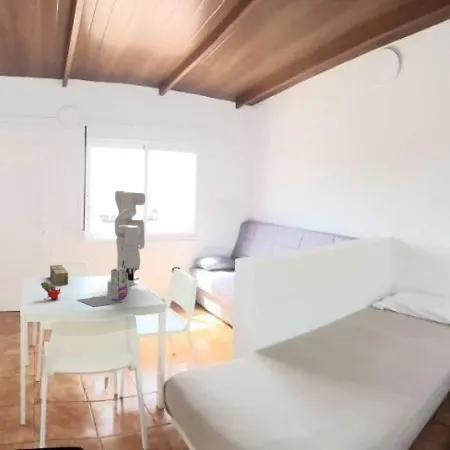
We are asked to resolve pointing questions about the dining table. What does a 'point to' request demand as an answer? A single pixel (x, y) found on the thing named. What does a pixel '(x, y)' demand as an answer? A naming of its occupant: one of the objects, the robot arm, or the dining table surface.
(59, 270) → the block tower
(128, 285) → the right angle wall
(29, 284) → the dining table surface
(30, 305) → the dining table surface
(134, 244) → the robot arm
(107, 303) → the mat
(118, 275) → the candy bar box
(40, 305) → the dining table surface
